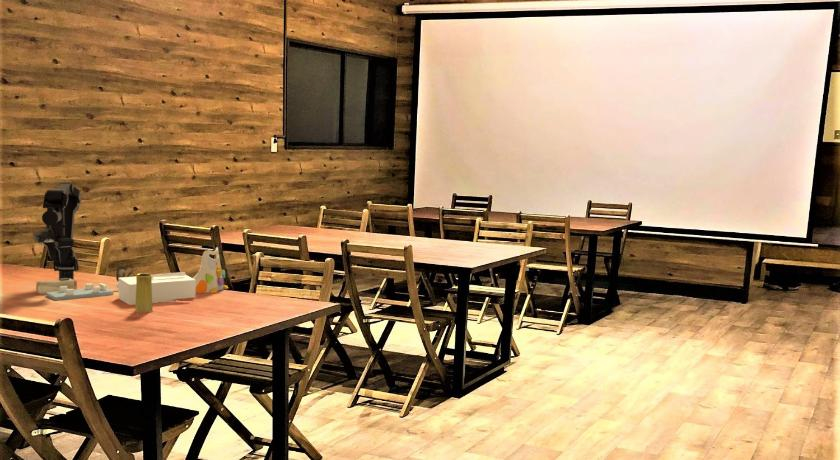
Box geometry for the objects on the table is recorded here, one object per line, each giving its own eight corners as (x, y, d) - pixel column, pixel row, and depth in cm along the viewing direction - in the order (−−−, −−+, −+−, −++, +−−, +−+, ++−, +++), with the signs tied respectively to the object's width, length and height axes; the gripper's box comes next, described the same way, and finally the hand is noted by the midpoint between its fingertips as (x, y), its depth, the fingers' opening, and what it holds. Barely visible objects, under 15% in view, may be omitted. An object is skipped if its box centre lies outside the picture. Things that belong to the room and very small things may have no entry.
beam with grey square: (36, 292, 339) (36, 280, 338) (73, 289, 349) (73, 276, 348) (39, 294, 336) (39, 282, 336) (77, 290, 346) (76, 278, 345)
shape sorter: (212, 297, 343) (212, 253, 341) (187, 295, 345) (188, 251, 343) (233, 288, 362) (233, 246, 360) (209, 286, 364) (210, 244, 362)
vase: (147, 311, 315) (147, 272, 314) (155, 314, 311) (156, 275, 309) (131, 313, 311) (131, 274, 309) (139, 316, 307) (139, 277, 305)
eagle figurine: (137, 287, 355) (137, 266, 354) (131, 291, 348) (131, 269, 347) (118, 287, 355) (118, 265, 354) (112, 290, 348) (112, 268, 347)
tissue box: (118, 299, 333) (118, 271, 332) (182, 294, 347) (182, 267, 346) (129, 307, 322) (129, 278, 320) (195, 301, 335) (195, 273, 334)
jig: (46, 296, 333) (46, 287, 332) (102, 290, 348) (102, 281, 347) (55, 301, 326) (55, 291, 325) (113, 294, 340) (113, 286, 340)
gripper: (25, 220, 339) (26, 259, 341) (45, 226, 326) (45, 267, 328) (54, 218, 347) (55, 257, 349) (74, 224, 334) (75, 264, 336)
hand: (57, 261), depth 340 cm, fingers open, 9 cm apart
